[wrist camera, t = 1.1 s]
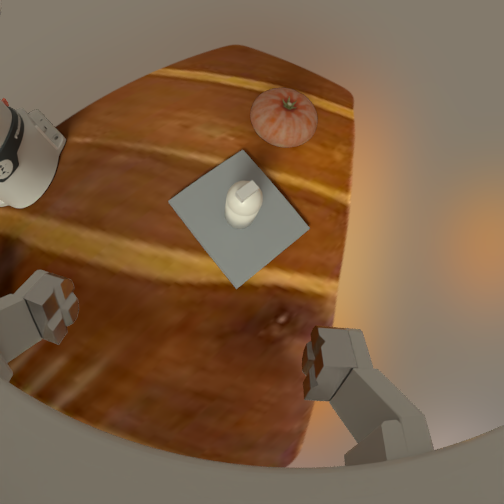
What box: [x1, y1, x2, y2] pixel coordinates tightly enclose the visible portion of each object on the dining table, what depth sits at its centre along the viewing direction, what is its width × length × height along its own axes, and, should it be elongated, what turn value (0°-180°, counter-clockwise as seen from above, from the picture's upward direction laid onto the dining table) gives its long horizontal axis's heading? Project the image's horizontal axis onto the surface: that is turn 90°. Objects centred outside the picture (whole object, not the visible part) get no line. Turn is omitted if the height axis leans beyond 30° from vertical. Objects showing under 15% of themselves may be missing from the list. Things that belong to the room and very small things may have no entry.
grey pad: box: [168, 150, 310, 289], centre depth 41 cm, size 16×14×1 cm
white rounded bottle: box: [224, 180, 263, 229], centre depth 35 cm, size 4×4×10 cm
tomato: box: [250, 88, 317, 147], centre depth 40 cm, size 11×11×8 cm
